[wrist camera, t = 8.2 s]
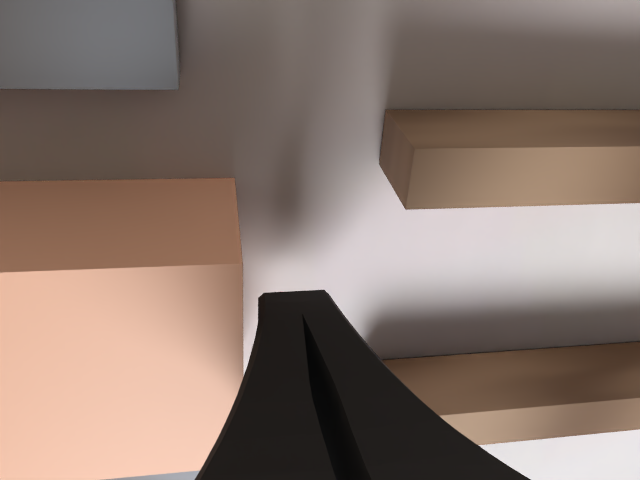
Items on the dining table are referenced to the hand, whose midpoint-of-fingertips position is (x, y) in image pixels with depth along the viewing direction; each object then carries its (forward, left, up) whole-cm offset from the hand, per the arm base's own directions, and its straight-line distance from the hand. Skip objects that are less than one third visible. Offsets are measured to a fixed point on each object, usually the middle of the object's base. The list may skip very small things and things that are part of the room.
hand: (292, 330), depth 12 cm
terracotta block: (+5, 0, -2) cm, 6 cm away
